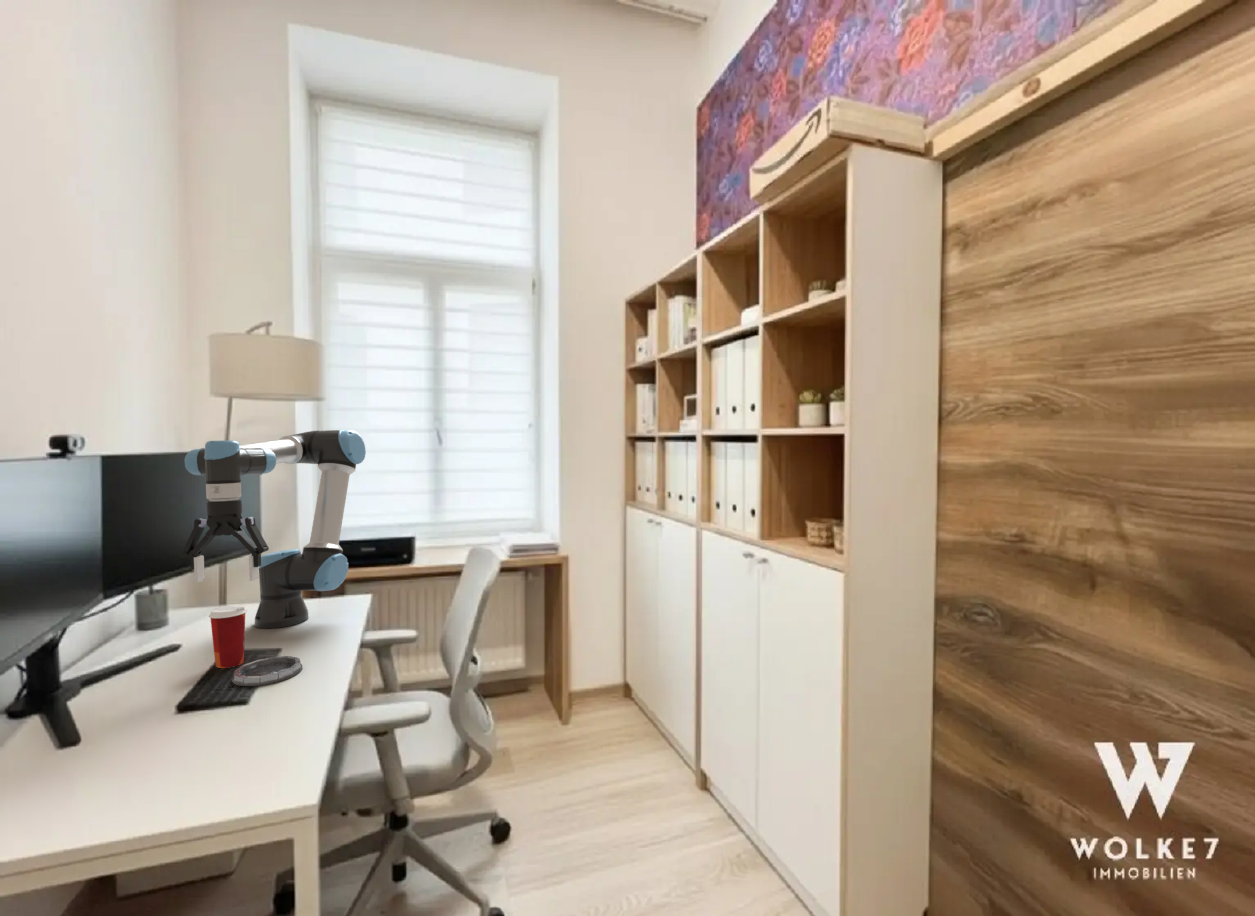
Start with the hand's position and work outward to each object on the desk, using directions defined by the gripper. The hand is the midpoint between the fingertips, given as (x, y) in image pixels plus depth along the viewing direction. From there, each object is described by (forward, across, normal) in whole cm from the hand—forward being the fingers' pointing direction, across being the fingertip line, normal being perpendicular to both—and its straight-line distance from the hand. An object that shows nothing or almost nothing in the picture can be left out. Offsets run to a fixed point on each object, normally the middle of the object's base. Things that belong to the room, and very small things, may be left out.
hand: (227, 580), depth 151 cm
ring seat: (+22, +14, -8) cm, 27 cm away
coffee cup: (+22, 0, 0) cm, 23 cm away
